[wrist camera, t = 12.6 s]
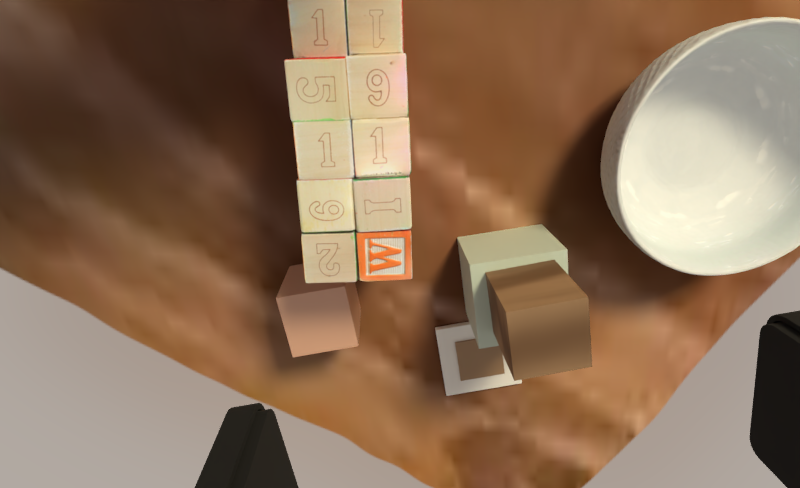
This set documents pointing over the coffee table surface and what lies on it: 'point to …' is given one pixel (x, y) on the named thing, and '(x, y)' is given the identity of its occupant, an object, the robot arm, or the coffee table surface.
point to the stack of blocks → (351, 139)
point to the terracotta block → (318, 314)
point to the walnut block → (539, 319)
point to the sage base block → (500, 267)
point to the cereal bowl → (711, 150)
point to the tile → (470, 361)
